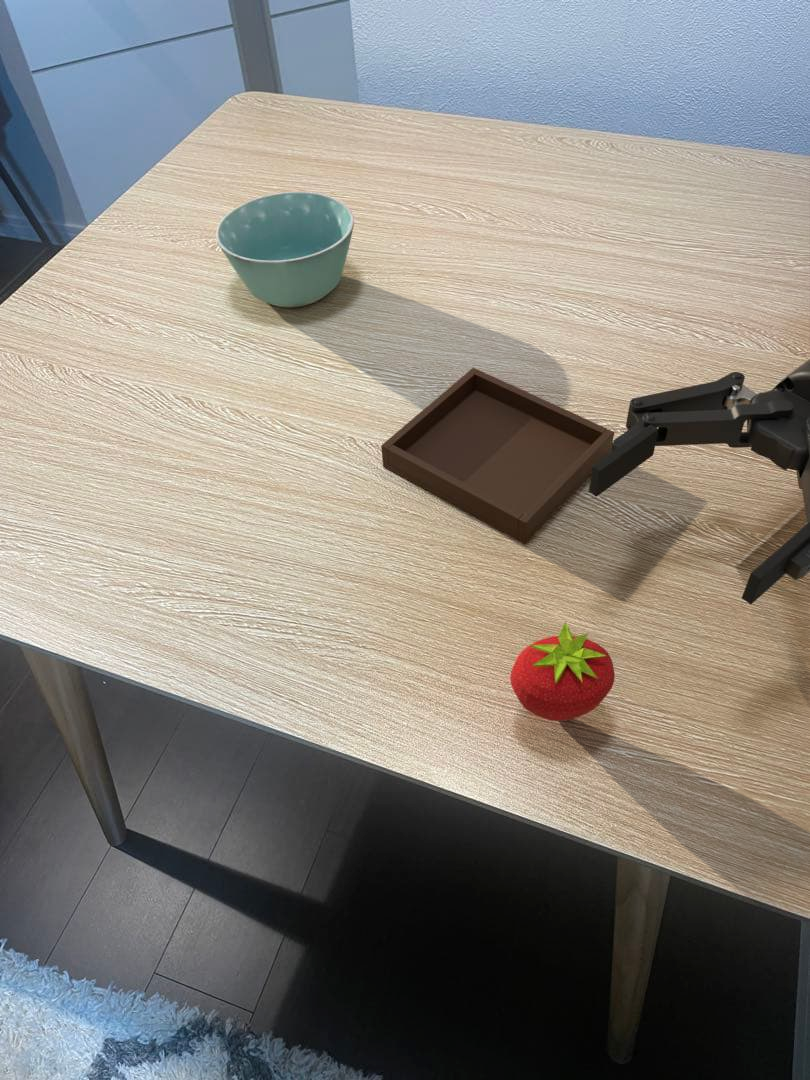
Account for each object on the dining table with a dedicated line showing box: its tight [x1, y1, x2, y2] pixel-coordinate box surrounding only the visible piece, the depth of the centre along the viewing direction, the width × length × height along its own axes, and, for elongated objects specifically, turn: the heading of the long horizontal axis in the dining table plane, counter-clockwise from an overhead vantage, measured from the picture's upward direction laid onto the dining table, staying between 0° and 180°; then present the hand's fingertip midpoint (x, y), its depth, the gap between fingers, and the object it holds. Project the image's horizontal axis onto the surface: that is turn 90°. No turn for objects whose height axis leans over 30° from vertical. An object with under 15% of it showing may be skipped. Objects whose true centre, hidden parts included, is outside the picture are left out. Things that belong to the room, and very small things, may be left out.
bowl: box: [215, 191, 355, 308], centre depth 107 cm, size 16×16×8 cm
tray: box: [380, 367, 615, 545], centre depth 87 cm, size 17×15×3 cm
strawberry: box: [509, 620, 616, 722], centre depth 66 cm, size 6×8×10 cm
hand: (667, 532), depth 64 cm, fingers open, 13 cm apart
